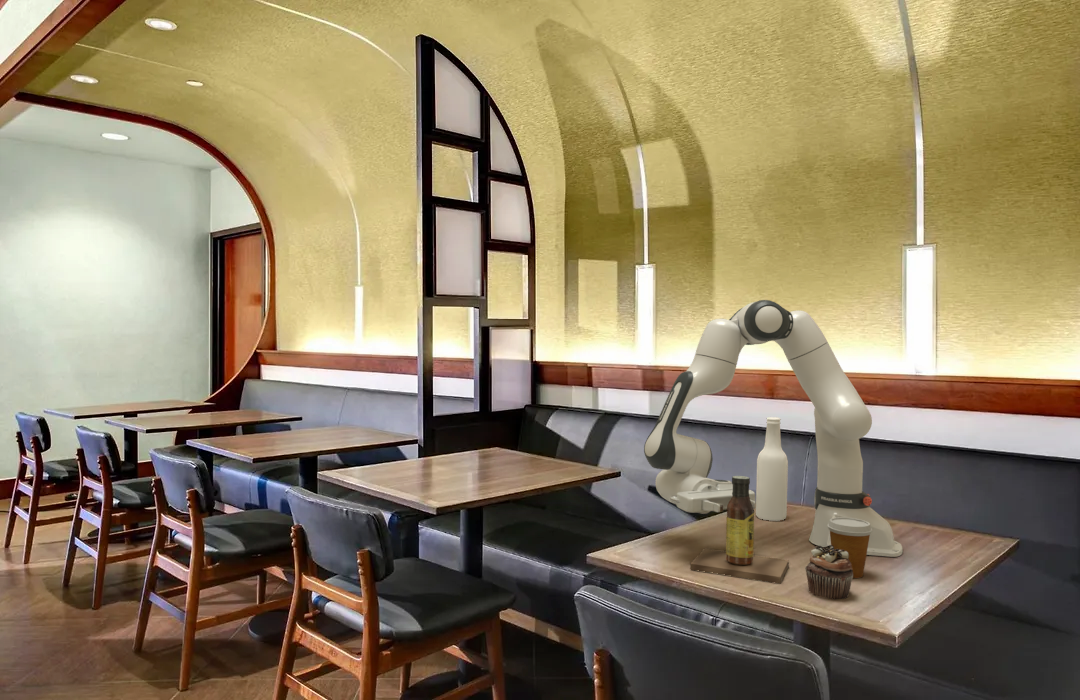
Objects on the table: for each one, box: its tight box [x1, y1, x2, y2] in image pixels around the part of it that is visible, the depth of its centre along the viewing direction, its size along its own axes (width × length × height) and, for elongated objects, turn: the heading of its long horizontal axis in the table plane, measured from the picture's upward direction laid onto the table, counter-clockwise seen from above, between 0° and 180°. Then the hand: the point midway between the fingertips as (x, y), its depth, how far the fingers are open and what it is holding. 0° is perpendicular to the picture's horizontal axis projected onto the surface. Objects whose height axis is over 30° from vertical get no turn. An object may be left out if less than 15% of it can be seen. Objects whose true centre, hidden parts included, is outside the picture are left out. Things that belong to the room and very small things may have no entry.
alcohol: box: [755, 416, 789, 522], centre depth 226 cm, size 9×9×30 cm
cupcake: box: [804, 545, 854, 600], centre depth 162 cm, size 10×10×10 cm
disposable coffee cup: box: [828, 517, 872, 579], centre depth 175 cm, size 10×10×12 cm
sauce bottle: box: [725, 475, 755, 565], centre depth 177 cm, size 6×6×20 cm
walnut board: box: [689, 548, 790, 584], centre depth 177 cm, size 20×14×2 cm
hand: (737, 507), depth 179 cm, fingers open, 8 cm apart
